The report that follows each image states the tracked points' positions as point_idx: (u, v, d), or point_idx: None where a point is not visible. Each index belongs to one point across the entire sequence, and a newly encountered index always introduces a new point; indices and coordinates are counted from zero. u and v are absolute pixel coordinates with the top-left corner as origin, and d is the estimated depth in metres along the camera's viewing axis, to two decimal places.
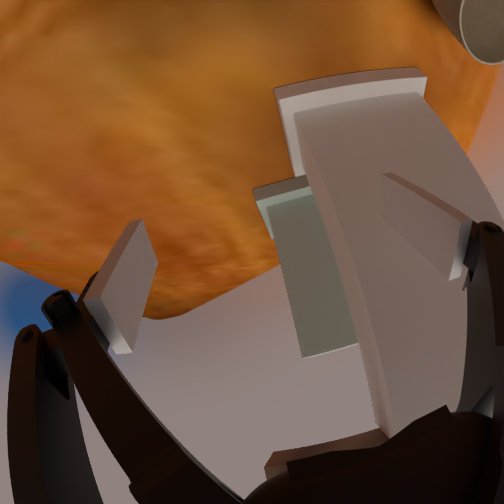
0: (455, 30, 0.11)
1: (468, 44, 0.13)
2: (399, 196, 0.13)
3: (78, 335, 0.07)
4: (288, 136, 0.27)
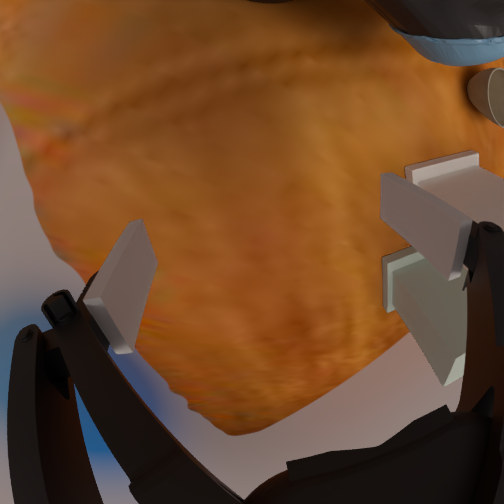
0: (488, 111, 0.26)
1: None
2: (399, 196, 0.13)
3: (78, 335, 0.07)
4: None
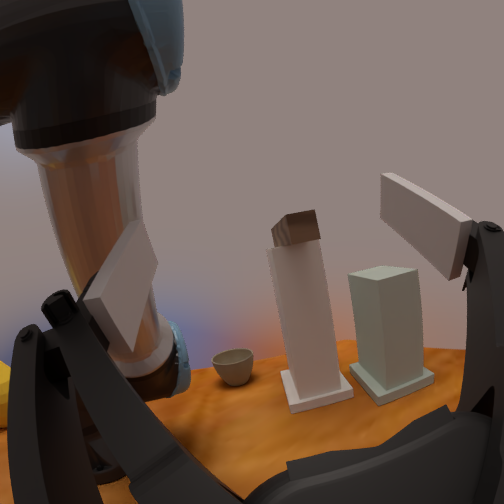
0: (241, 364, 0.60)
1: None
2: (399, 196, 0.13)
3: (78, 335, 0.07)
4: (316, 398, 0.45)
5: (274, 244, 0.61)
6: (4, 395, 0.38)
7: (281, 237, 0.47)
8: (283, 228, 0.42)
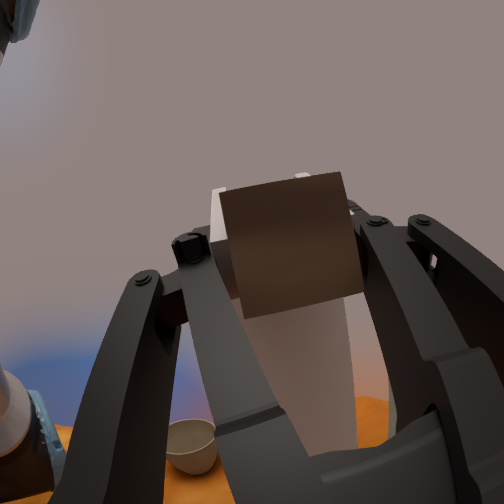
0: (196, 455, 0.31)
1: None
2: None
3: (205, 277, 0.08)
4: None
5: None
6: None
7: None
8: None
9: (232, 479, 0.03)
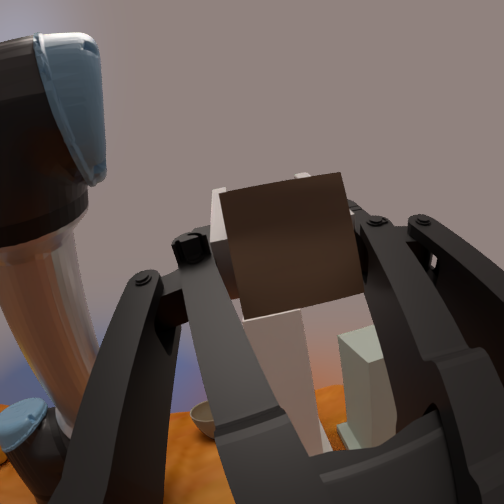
0: None
1: None
2: None
3: (205, 277, 0.08)
4: None
5: None
6: None
7: None
8: None
9: (232, 479, 0.03)
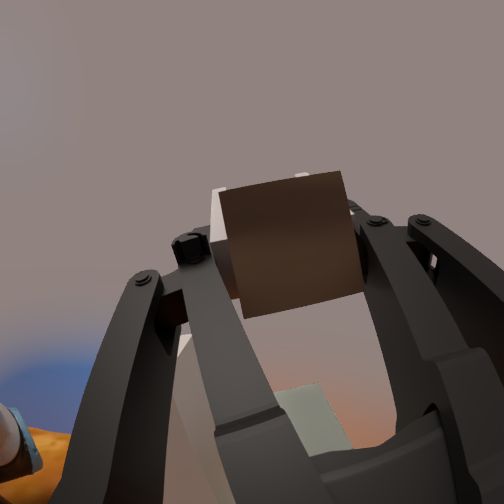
0: None
1: None
2: None
3: (205, 277, 0.08)
4: None
5: None
6: None
7: None
8: None
9: (232, 479, 0.03)
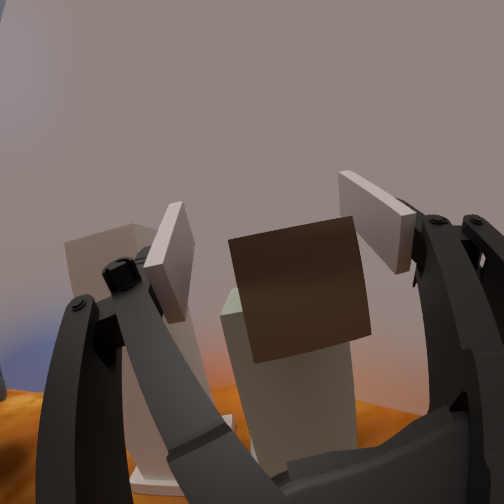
0: None
1: None
2: (353, 192, 0.14)
3: (137, 303, 0.08)
4: (165, 485, 0.22)
5: None
6: None
7: None
8: None
9: (193, 501, 0.03)
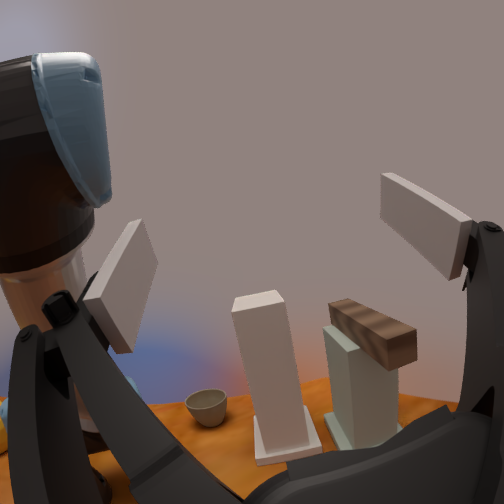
0: (213, 409, 0.55)
1: None
2: (399, 196, 0.13)
3: (78, 335, 0.07)
4: (282, 454, 0.41)
5: (331, 321, 0.50)
6: None
7: (358, 338, 0.36)
8: (370, 339, 0.32)
9: None
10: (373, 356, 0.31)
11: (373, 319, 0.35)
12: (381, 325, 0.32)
